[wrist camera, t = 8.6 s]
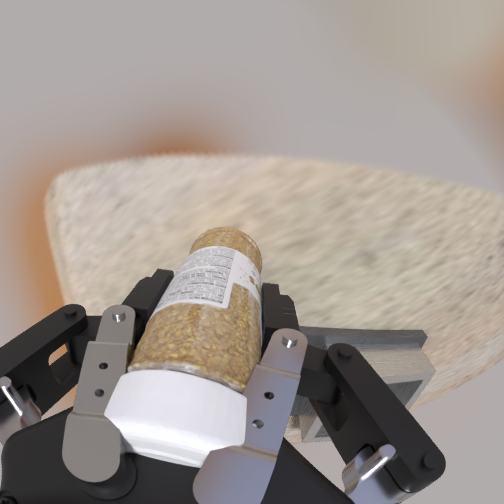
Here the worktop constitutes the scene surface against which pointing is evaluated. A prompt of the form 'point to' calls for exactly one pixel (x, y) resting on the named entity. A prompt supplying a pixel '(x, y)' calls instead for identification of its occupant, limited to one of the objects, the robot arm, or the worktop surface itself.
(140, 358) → the sprinkles bottle
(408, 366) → the grey push button box
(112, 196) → the worktop surface
